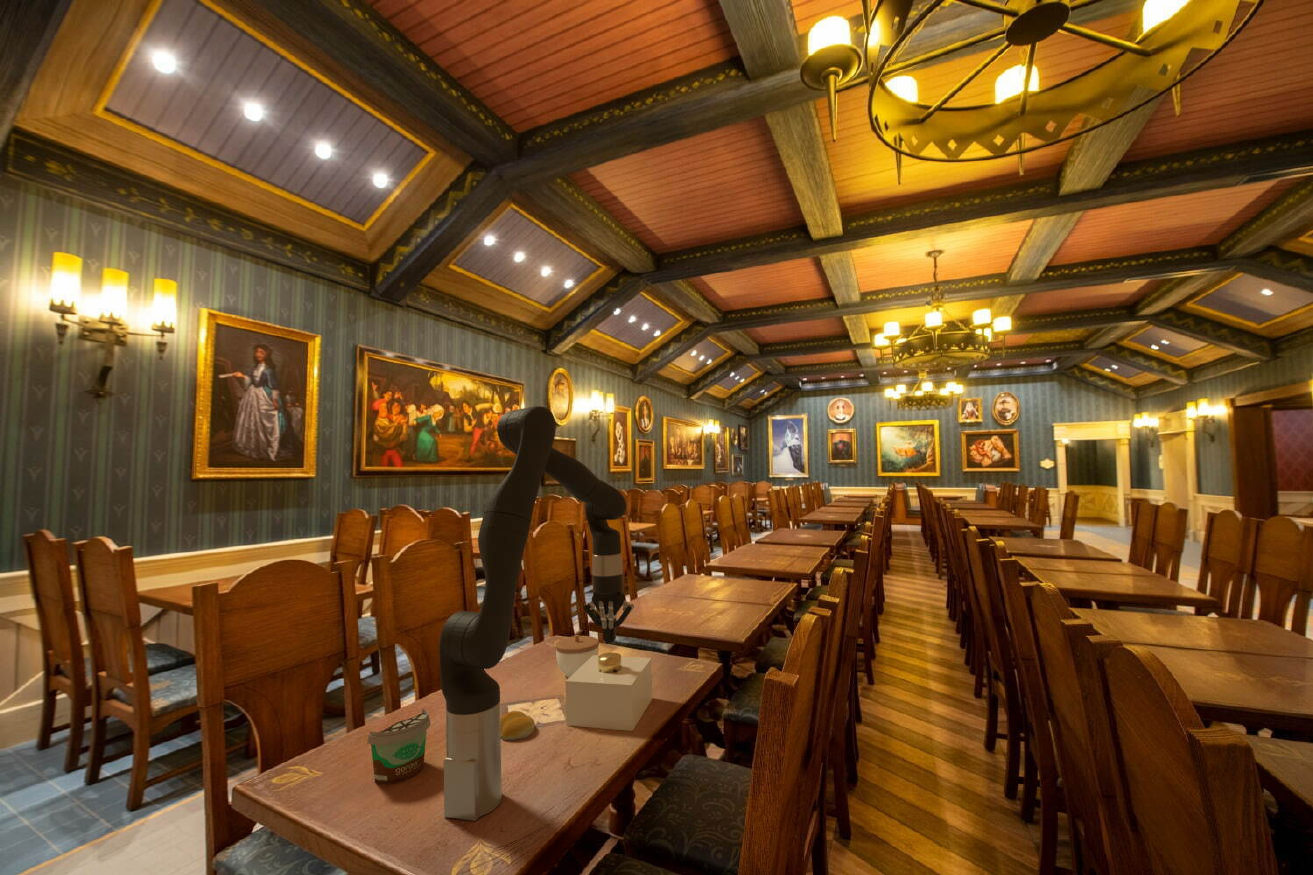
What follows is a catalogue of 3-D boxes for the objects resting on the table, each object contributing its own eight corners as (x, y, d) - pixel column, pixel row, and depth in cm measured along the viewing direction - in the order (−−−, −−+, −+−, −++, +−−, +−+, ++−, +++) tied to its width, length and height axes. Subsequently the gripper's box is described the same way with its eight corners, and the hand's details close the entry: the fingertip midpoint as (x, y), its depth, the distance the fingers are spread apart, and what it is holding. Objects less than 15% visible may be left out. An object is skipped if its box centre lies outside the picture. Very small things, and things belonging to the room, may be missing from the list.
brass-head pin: (618, 712, 128) (616, 660, 129) (596, 710, 130) (594, 659, 131) (625, 702, 134) (623, 653, 135) (604, 701, 135) (602, 652, 136)
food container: (386, 795, 99) (385, 739, 100) (367, 786, 103) (367, 732, 103) (443, 763, 110) (443, 713, 111) (425, 756, 113) (424, 707, 114)
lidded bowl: (596, 681, 151) (595, 641, 152) (551, 682, 151) (551, 642, 152) (601, 665, 164) (600, 628, 164) (560, 666, 164) (559, 629, 164)
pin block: (632, 730, 121) (631, 685, 122) (566, 725, 125) (565, 680, 126) (652, 697, 138) (651, 658, 139) (594, 693, 142) (593, 655, 143)
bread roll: (508, 745, 117) (508, 726, 117) (490, 732, 123) (490, 714, 124) (542, 732, 122) (541, 714, 123) (523, 720, 129) (522, 702, 129)
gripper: (576, 574, 132) (578, 647, 131) (628, 575, 129) (631, 649, 128) (588, 569, 139) (590, 637, 138) (637, 569, 136) (639, 639, 135)
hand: (609, 643), depth 133 cm, fingers closed
